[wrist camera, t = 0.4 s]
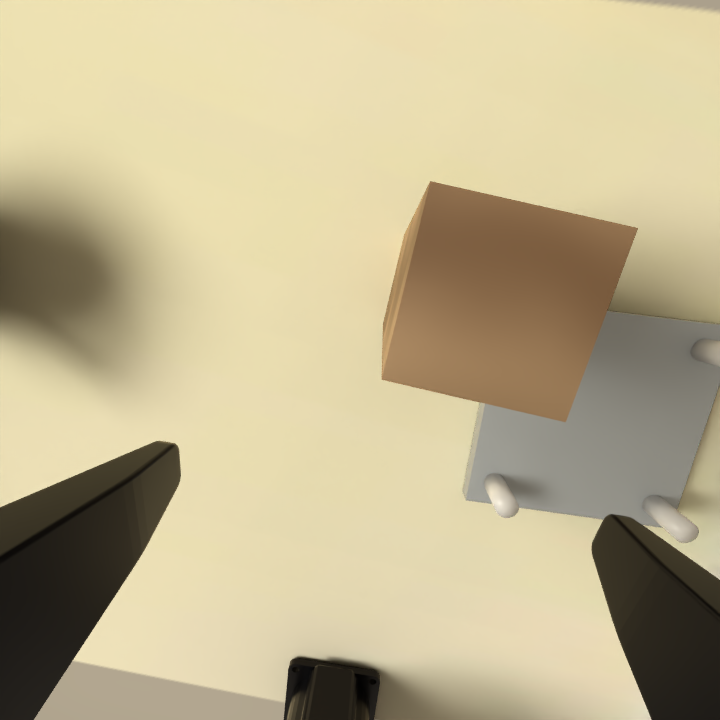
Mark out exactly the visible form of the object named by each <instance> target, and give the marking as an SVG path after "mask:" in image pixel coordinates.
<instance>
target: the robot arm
mask: <svg viewBox="0 0 720 720" xmlns="http://www.w3.org/2000/svg"><path fill="white" fill-rule="evenodd" d="M180 478H181V469H180V456H179V448H178V446H177V445H176V444H175V443H170V442H163V441H156V442H153V443H151V444H148V445H146V446H144V447H141V448H139V449H137V450H134V451H132V452H130V453H127V454H125V455H123V456H120V457H118V458H115V459H113V460H111V461H108V462H106V463H104V464H101V465H99V466H97V467H94V468H92V469H90V470H87V471H85V472H83V473H80V474H78V475H75V476H73V477H71V478H68V479H66V480H64V481H61V482H59V483H57V484H54V485H52V486H50V487H47V488H45V489H42V490H40V491H38V492H35V493H33V494H31V495H28V496H26V497H24V498H21V499H19V500H17V501H14V502H12V503H9V504H7V505H5V506H2V507H0V720H34V718H35V717H36V715H37V714H38V712H39V711H40V709H41V708H42V706H43V705H44V703H45V702H46V700H47V699H48V697H49V695H50V694H51V693H52V691H53V689H54V688H55V686H56V685H57V683H58V682H59V680H60V679H61V677H62V676H63V674H64V673H65V671H66V670H67V668H68V666H69V665H70V664H71V662H72V661H73V659H74V657H75V656H76V654H77V653H78V651H79V650H80V648H81V647H82V645H83V644H84V642H85V641H86V639H87V638H88V636H89V635H90V633H91V632H92V630H93V629H94V627H95V625H96V624H97V622H98V621H99V619H100V618H101V616H102V615H103V613H104V612H105V610H106V609H107V607H108V606H109V604H110V603H111V601H112V600H113V598H114V597H115V595H116V593H117V592H118V590H119V589H120V587H121V586H122V584H123V583H124V581H125V580H126V578H127V577H128V575H129V574H130V572H131V571H132V569H133V568H134V566H135V565H136V563H137V561H138V560H139V558H140V557H141V555H142V553H143V552H144V550H145V548H146V546H147V544H148V543H149V541H150V539H151V537H152V535H153V533H154V531H155V529H156V527H157V525H158V523H159V522H160V520H161V518H162V516H163V514H164V512H165V510H166V508H167V506H168V504H169V502H170V501H171V499H172V497H173V495H174V493H175V491H176V489H177V487H178V485H179V482H180ZM592 555H593V559H594V562H595V565H596V569H597V572H598V575H599V578H600V582H601V585H602V588H603V591H604V594H605V598H606V601H607V604H608V607H609V611H610V614H611V617H612V620H613V623H614V626H615V629H616V632H617V635H618V638H619V640H620V643H621V646H622V648H623V651H624V653H625V656H626V658H627V660H628V663H629V665H630V668H631V670H632V673H633V675H634V678H635V680H636V682H637V685H638V687H639V690H640V692H641V695H642V697H643V700H644V702H645V704H646V707H647V709H648V712H649V714H650V717H651V719H652V720H720V580H719V579H718V578H716V577H715V576H714V575H712V574H711V573H709V572H708V571H707V570H705V569H704V568H702V567H701V566H699V565H698V564H697V563H695V562H694V561H692V560H691V559H690V558H688V557H687V556H685V555H684V554H683V553H681V552H680V551H678V550H677V549H676V548H674V547H673V546H671V545H670V544H668V543H667V542H666V541H664V540H663V539H661V538H660V537H659V536H657V535H656V534H654V533H653V532H652V531H650V530H649V529H647V528H646V527H645V526H643V525H642V524H640V523H639V522H637V521H636V520H635V519H633V518H631V517H628V516H622V515H616V514H609V515H607V516H606V517H605V518H604V520H603V522H602V524H601V526H600V528H599V530H598V532H597V534H596V536H595V538H594V540H593V542H592ZM379 685H380V675H379V673H378V672H377V671H374V670H367V669H361V668H355V667H348V666H342V665H336V664H329V663H323V662H316V661H310V660H304V659H297V658H295V659H292V660H291V661H290V665H289V669H288V680H287V691H286V702H285V713H284V720H374V715H375V709H376V703H377V697H378V691H379Z"/></svg>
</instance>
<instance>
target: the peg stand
mask: <svg viewBox="0 0 720 720" xmlns="http://www.w3.org/2000/svg"><path fill="white" fill-rule="evenodd" d="M719 385H720V324H714V323H706V322H697V321H689V320H681V319H672V318H664V317H656V316H647V315H639V314H630V313H622V312H614V311H607V313H606V316H605V318H604V321H603V324H602V326H601V329H600V332H599V334H598V337H597V340H596V342H595V345H594V348H593V350H592V353H591V356H590V359H589V361H588V364H587V367H586V369H585V372H584V375H583V377H582V380H581V383H580V385H579V388H578V391H577V393H576V396H575V399H574V402H573V404H572V407H571V410H570V412H569V415H568V418H567V420H566V422H562V421H558V420H553V419H549V418H545V417H541V416H536V415H532V414H528V413H523V412H519V411H515V410H510V409H506V408H502V407H498V406H493V405H489V404H485V403H480V404H479V409H478V414H477V420H476V425H475V430H474V435H473V440H472V445H471V450H470V455H469V460H468V465H467V470H466V476H465V481H464V486H463V494H464V497H465V499H466V500H468V501H475V502H482V503H489V504H493V506H494V508H495V510H496V512H497V514H498V515H499V516H501V517H504V518H510V517H513V516H514V515H515V514H516V513H517V512H518V510H519V508H525V509H532V510H540V511H547V512H554V513H561V514H568V515H575V516H583V517H590V518H597V519H604V518H605V517H606V516H607V515H609V514H616V515H622V516H628V517H631V518H633V519H635V520H636V521H637V522H639V523H640V524H642V525H647V526H654V527H662V528H664V529H665V530H666V531H667V532H668V533H669V534H671V535H672V536H673V537H674V538H675V539H676V540H677V541H679V542H681V543H688V542H691V541H693V540H694V539H696V537H697V536H698V533H699V530H698V527H697V526H696V525H695V524H694V523H692V522H691V521H690V520H689V519H687V518H686V517H685V516H684V515H683V514H681V513H680V512H679V511H678V510H677V508H678V505H679V502H680V499H681V496H682V494H683V491H684V488H685V485H686V482H687V479H688V476H689V473H690V470H691V467H692V464H693V461H694V458H695V455H696V453H697V450H698V447H699V444H700V441H701V438H702V435H703V432H704V429H705V426H706V423H707V420H708V417H709V415H710V412H711V409H712V406H713V403H714V400H715V397H716V394H717V391H718V388H719Z"/></svg>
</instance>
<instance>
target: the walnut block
mask: <svg viewBox="0 0 720 720" xmlns="http://www.w3.org/2000/svg"><path fill="white" fill-rule="evenodd" d="M637 230H638V228H635V227H630V226H626V225H622V224H617V223H613V222H608V221H604V220H599V219H595V218H591V217H586V216H582V215H577V214H573V213H568V212H564V211H560V210H555V209H551V208H546V207H542V206H537V205H533V204H529V203H524V202H520V201H515V200H511V199H506V198H502V197H498V196H493V195H489V194H484V193H480V192H475V191H471V190H467V189H462V188H458V187H453V186H449V185H444V184H440V183H436V182H431V181H430V183H429V185H428V187H427V189H426V191H425V193H424V195H423V197H422V199H421V202H420V204H419V206H418V208H417V210H416V212H415V214H414V216H413V218H412V220H411V222H410V224H409V226H408V228H407V230H406V232H405V234H404V239H403V243H402V247H401V251H400V255H399V260H398V264H397V268H396V272H395V276H394V281H393V285H392V289H391V293H390V297H389V301H388V306H387V310H386V314H385V318H384V322H383V348H382V380H386V381H390V382H395V383H399V384H403V385H407V386H412V387H416V388H420V389H425V390H429V391H433V392H438V393H442V394H446V395H450V396H455V397H459V398H463V399H468V400H472V401H476V402H480V403H485V404H489V405H493V406H498V407H502V408H506V409H510V410H515V411H519V412H523V413H528V414H532V415H536V416H541V417H545V418H549V419H553V420H558V421H562V422H566V420H567V418H568V415H569V412H570V410H571V407H572V404H573V402H574V399H575V396H576V393H577V391H578V388H579V385H580V383H581V380H582V377H583V375H584V372H585V369H586V367H587V364H588V361H589V359H590V356H591V353H592V350H593V348H594V345H595V342H596V340H597V337H598V334H599V332H600V329H601V326H602V324H603V321H604V318H605V316H606V313H607V310H608V307H609V305H610V302H611V299H612V297H613V294H614V291H615V289H616V286H617V283H618V281H619V278H620V275H621V273H622V270H623V267H624V264H625V262H626V259H627V256H628V254H629V251H630V248H631V246H632V243H633V240H634V238H635V235H636V232H637Z"/></svg>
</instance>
